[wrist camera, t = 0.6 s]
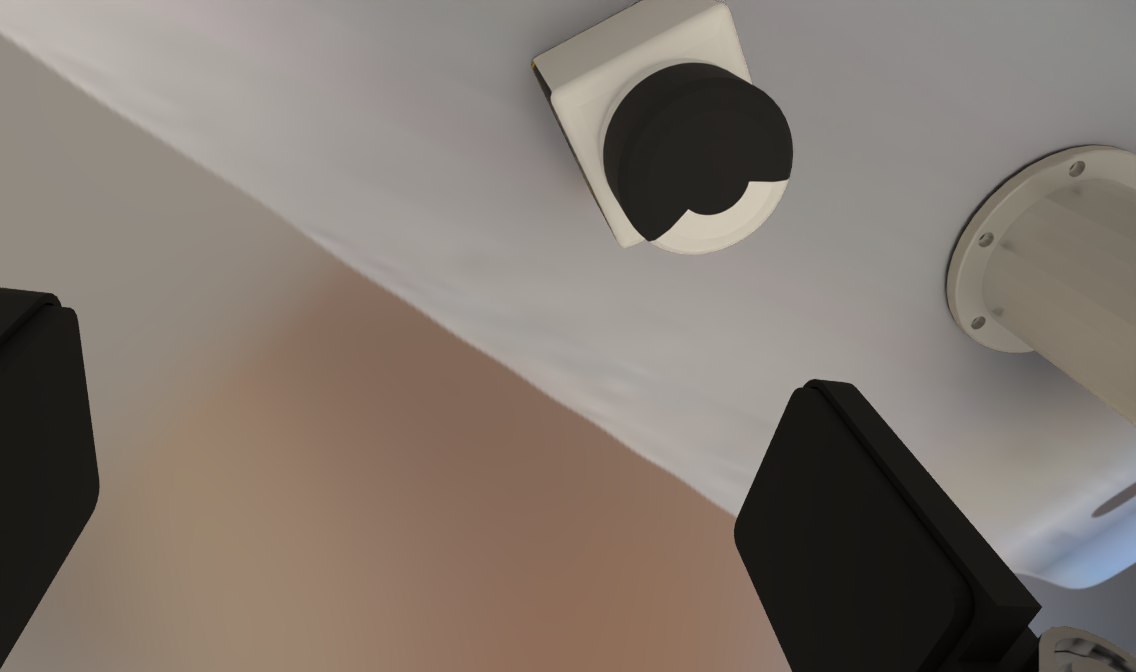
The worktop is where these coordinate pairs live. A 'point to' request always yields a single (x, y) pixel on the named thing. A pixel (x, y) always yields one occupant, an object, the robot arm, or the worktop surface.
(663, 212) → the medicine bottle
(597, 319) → the worktop surface
